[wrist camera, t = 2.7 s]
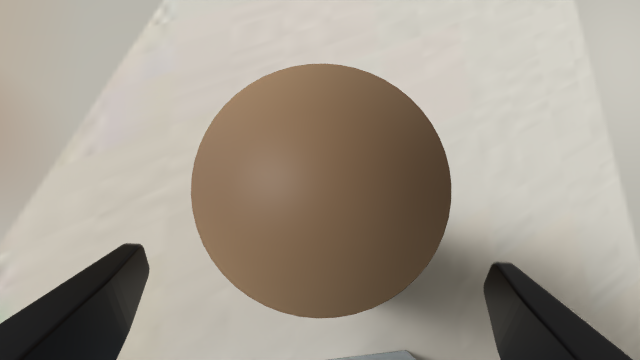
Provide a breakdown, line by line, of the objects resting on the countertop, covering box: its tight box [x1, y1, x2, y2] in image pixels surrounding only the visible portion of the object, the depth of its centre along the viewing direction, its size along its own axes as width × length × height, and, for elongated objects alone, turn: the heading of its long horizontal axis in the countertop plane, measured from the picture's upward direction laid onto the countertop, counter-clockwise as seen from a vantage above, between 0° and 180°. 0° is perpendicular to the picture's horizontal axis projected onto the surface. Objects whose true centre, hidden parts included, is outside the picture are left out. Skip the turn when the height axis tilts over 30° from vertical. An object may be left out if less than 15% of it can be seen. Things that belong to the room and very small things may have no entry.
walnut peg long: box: [191, 64, 451, 318], centre depth 12 cm, size 4×4×13 cm
